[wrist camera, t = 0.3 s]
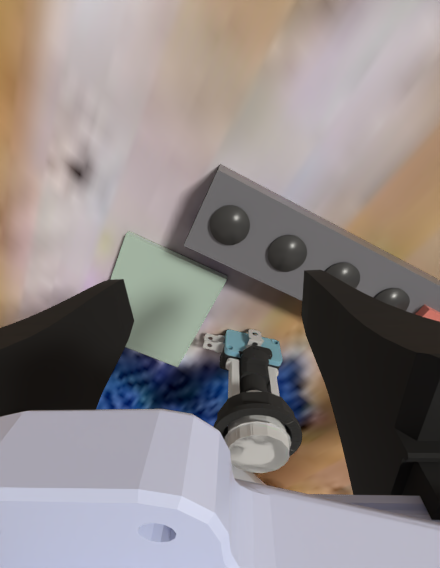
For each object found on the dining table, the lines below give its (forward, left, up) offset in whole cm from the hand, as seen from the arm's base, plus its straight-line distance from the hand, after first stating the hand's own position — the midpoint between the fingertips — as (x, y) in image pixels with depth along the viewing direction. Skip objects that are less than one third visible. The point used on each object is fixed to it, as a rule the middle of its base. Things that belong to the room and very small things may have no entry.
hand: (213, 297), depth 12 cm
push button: (-6, +9, -10) cm, 15 cm away
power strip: (-7, -1, -10) cm, 12 cm away
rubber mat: (+2, +9, -10) cm, 13 cm away
